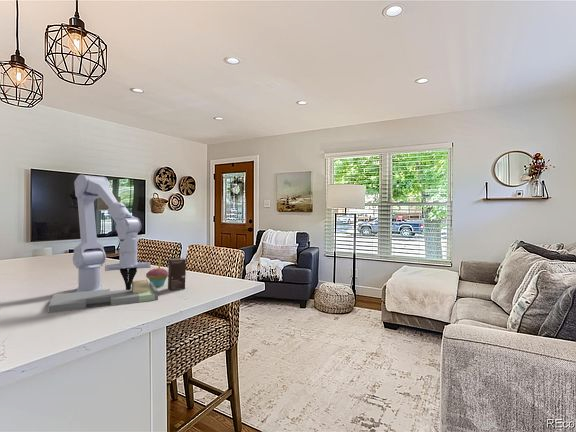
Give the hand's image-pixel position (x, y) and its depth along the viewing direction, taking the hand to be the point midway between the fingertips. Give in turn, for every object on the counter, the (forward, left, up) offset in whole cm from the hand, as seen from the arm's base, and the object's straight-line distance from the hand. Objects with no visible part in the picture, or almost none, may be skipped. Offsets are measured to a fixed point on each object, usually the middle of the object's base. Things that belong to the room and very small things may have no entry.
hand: (128, 289), depth 114 cm
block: (0, +4, -1) cm, 4 cm away
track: (0, -7, -3) cm, 8 cm away
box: (-6, +18, -3) cm, 19 cm away
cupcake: (-15, +12, -3) cm, 19 cm away
